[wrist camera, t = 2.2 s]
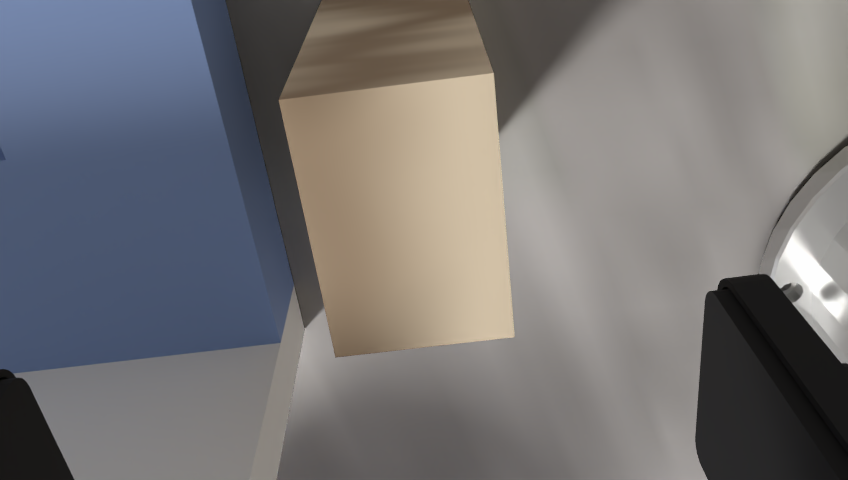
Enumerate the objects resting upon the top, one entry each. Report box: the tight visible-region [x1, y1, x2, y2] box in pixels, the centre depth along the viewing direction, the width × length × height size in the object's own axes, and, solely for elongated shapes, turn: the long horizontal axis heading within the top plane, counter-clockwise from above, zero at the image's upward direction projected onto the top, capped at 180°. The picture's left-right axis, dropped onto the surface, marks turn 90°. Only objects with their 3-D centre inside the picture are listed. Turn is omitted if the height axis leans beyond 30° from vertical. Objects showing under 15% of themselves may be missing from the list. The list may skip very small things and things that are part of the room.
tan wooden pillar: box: [279, 0, 515, 357], centre depth 20 cm, size 4×6×10 cm, turn 7°
